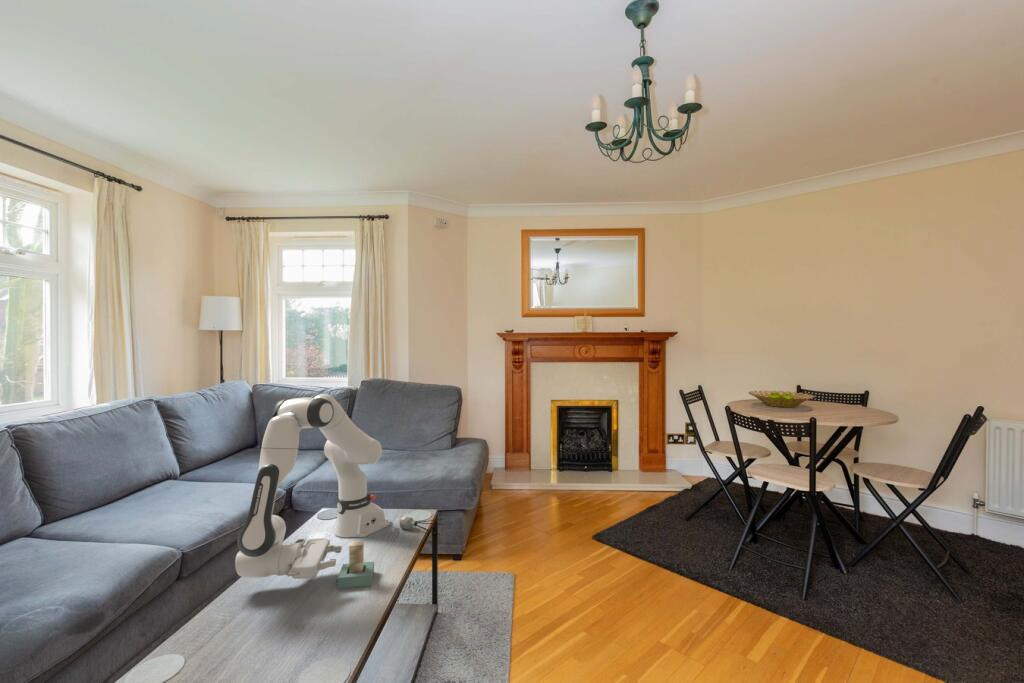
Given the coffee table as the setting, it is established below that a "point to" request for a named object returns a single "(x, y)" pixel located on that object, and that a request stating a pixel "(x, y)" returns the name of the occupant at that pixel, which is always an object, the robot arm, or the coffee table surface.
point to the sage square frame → (356, 576)
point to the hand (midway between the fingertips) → (338, 555)
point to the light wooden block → (356, 557)
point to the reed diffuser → (412, 524)
